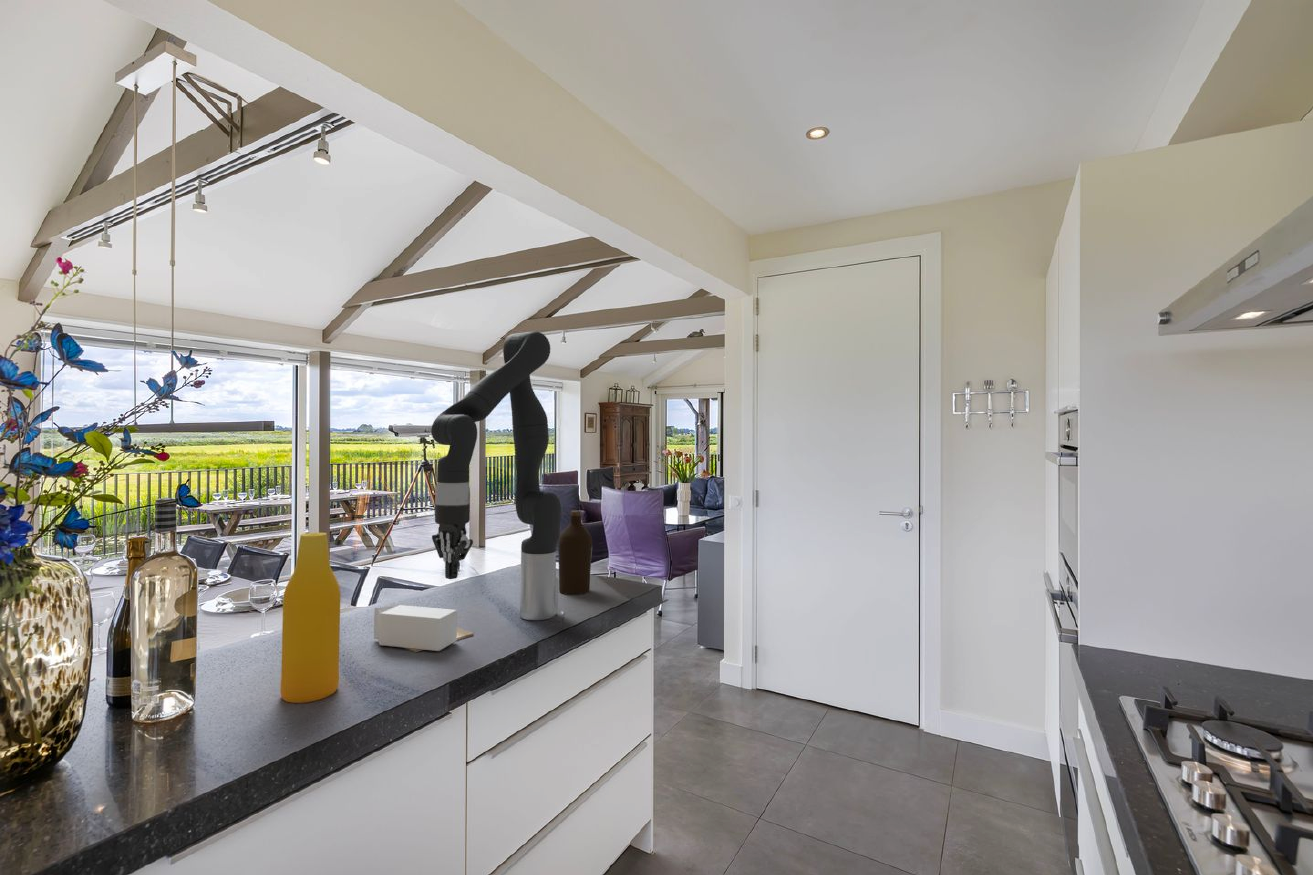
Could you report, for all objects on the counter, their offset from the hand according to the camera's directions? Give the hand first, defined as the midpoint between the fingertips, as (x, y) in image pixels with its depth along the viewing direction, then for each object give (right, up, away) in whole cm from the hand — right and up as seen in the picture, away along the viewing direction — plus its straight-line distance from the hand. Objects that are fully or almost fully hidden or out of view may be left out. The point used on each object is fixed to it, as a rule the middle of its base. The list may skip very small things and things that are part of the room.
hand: (451, 578), depth 135 cm
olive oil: (+21, -16, +50) cm, 57 cm away
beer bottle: (-17, -15, -27) cm, 35 cm away
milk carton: (0, -11, -2) cm, 11 cm away
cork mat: (-7, -15, +5) cm, 17 cm away
